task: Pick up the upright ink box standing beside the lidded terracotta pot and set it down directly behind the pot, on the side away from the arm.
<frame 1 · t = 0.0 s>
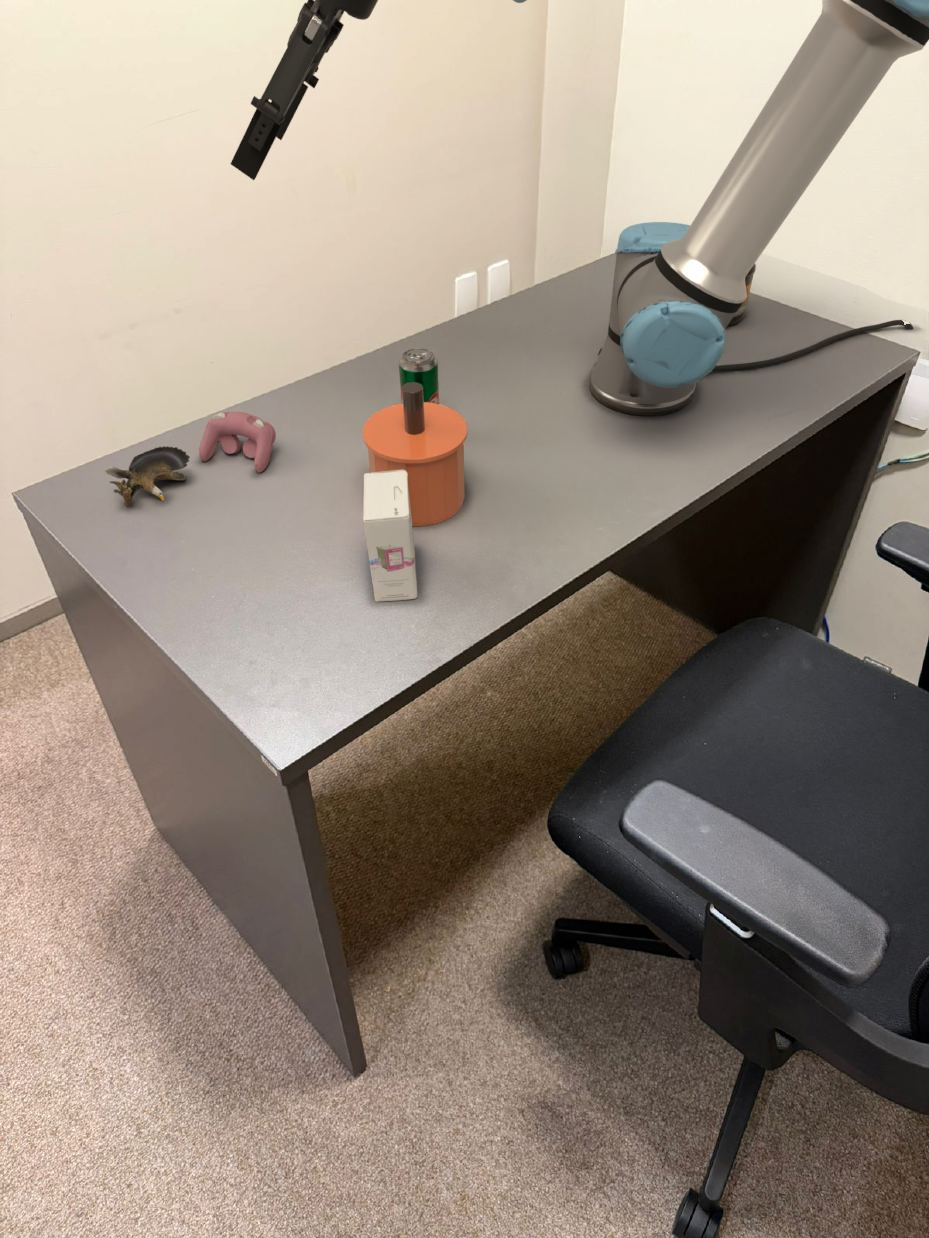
hand: (257, 151, 95), 36 cm above the table, tool tilted 35°, fingers open, 13 cm apart
ink box: (394, 577, 99), on the table
video game controller: (241, 458, 116), on the table
pot lid: (415, 433, 102), point 9 cm above the table, touching pot
soda can: (422, 436, 119), on the table
supplement container: (711, 316, 144), on the table
pot: (419, 498, 109), on the table
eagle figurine: (155, 494, 110), on the table
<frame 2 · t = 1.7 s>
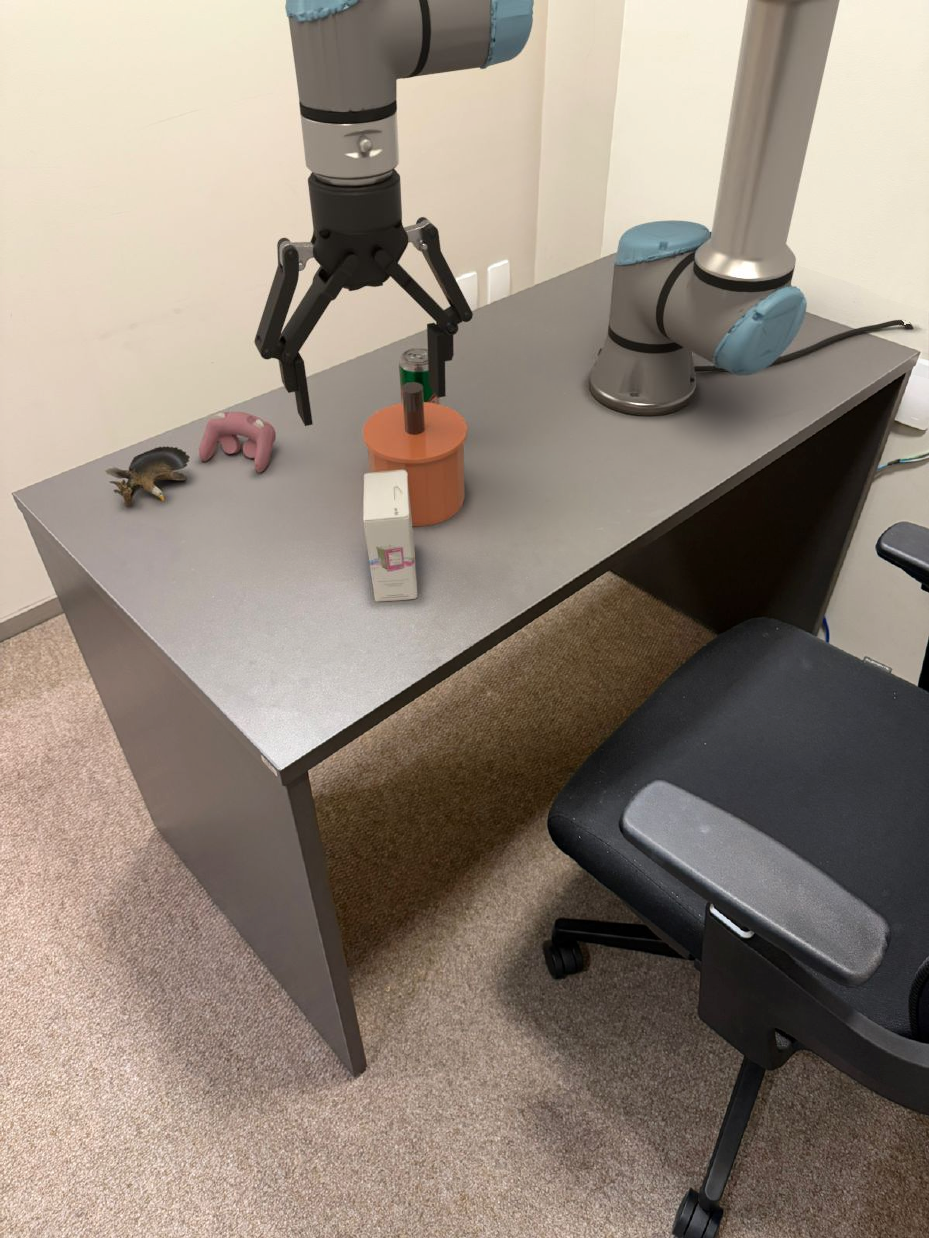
hand: (372, 404, 84), 21 cm above the table, tool pointing down, fingers open, 13 cm apart
nothing on the table moved.
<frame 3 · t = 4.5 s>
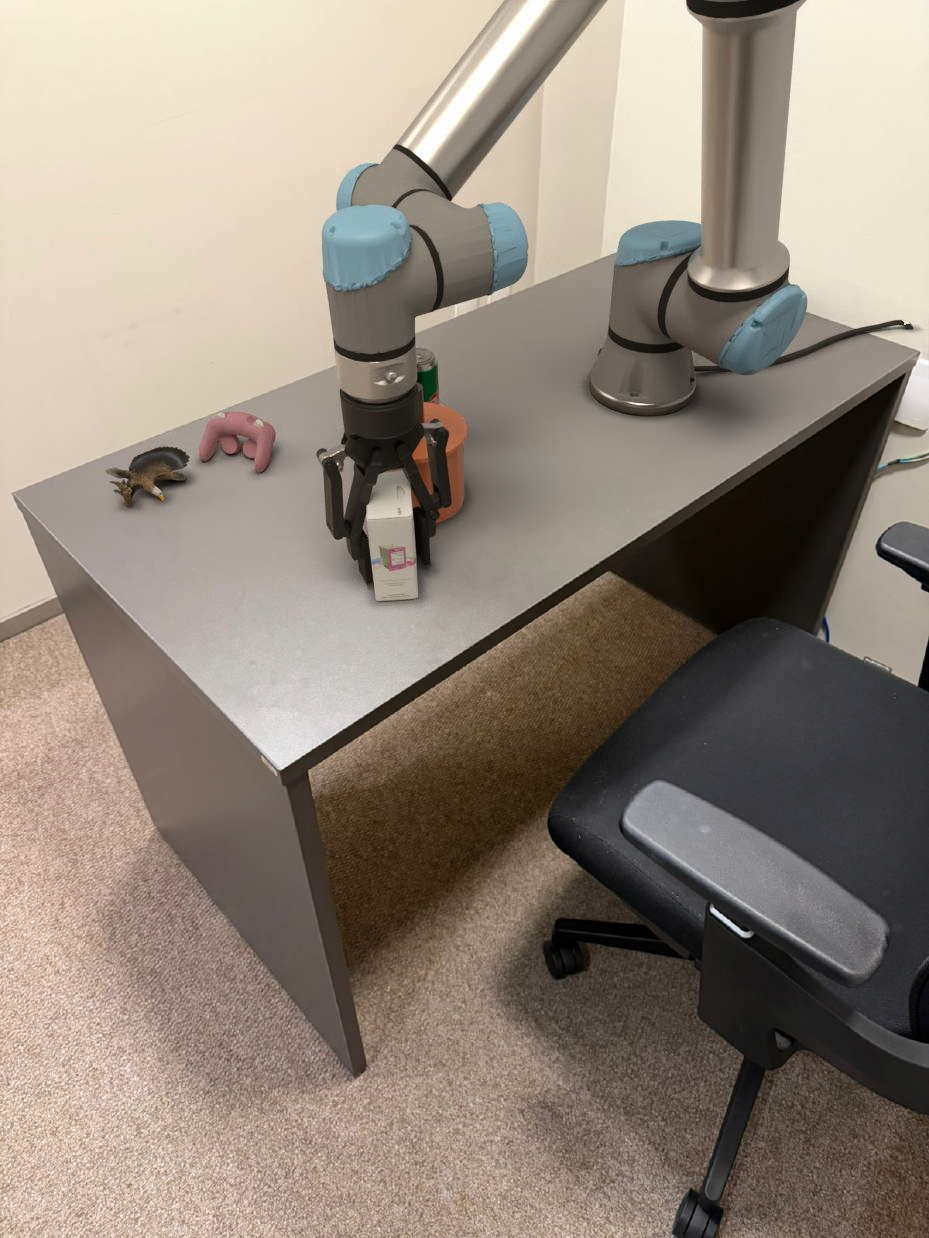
hand: (394, 567, 98), 1 cm above the table, tool pointing down, fingers closed on ink box, 6 cm apart
ink box: (394, 577, 99), on the table, touching gripper
everything else where it was.
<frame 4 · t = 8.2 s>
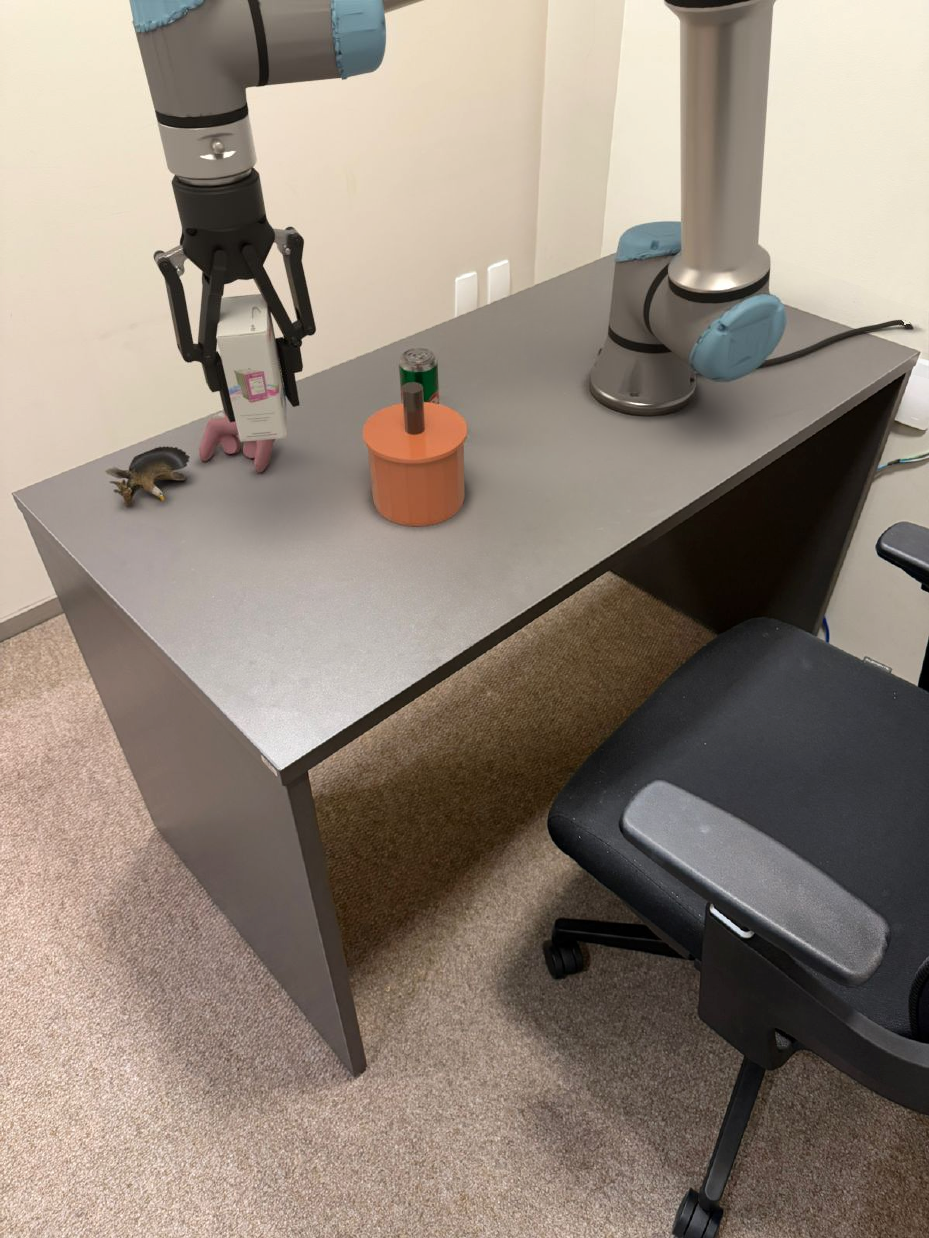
hand: (261, 407, 90), 18 cm above the table, tool pointing down, fingers closed on ink box, 6 cm apart
ink box: (263, 420, 91), point 17 cm above the table, touching gripper
everything else where it was.
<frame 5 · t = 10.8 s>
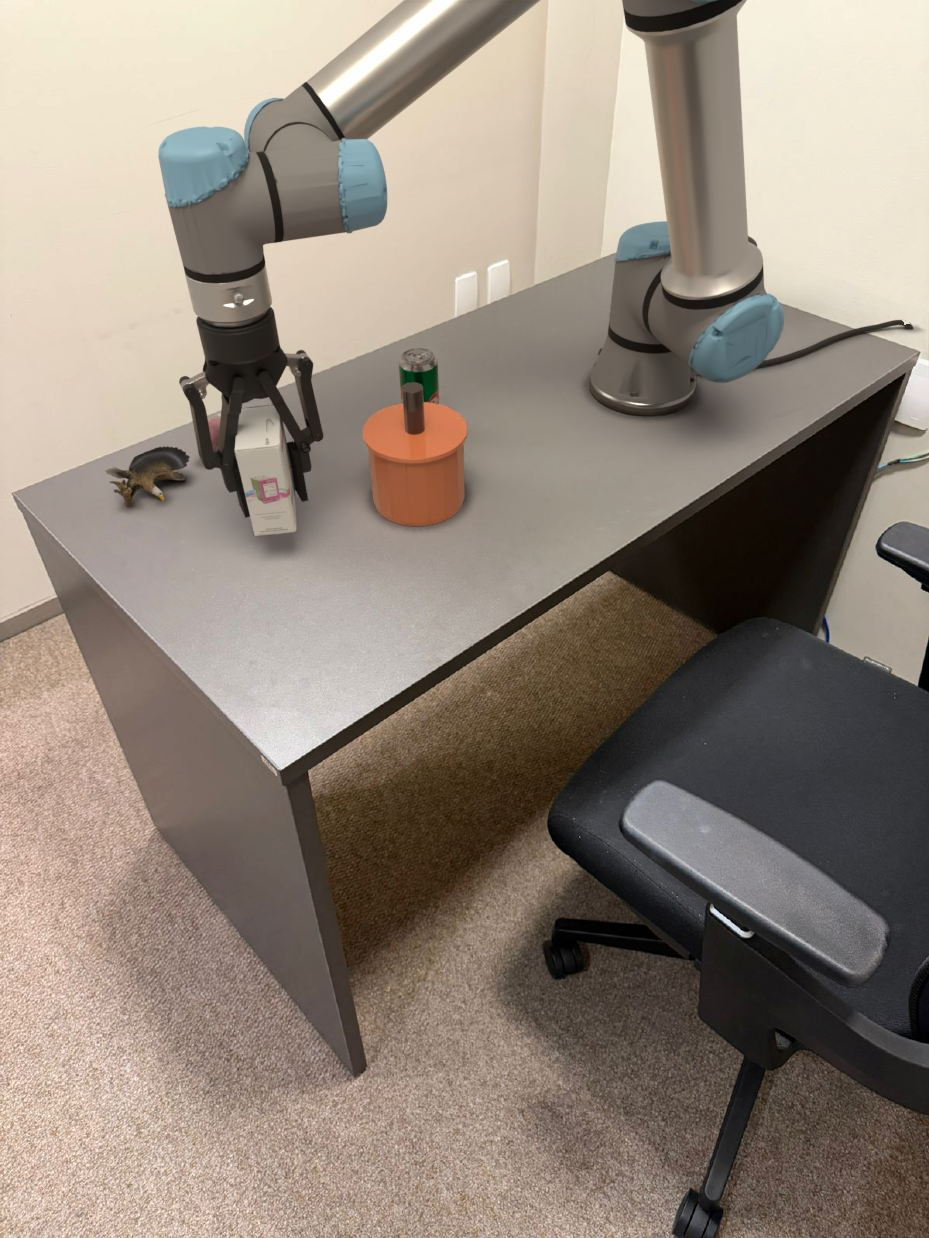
hand: (273, 502, 100), 5 cm above the table, tool pointing down, fingers closed on ink box, 6 cm apart
ink box: (275, 513, 100), point 4 cm above the table, touching gripper
everything else where it was.
when the fingers open (1 cm above the table, at t = 12.2 s): ink box stays where it is, on the table.
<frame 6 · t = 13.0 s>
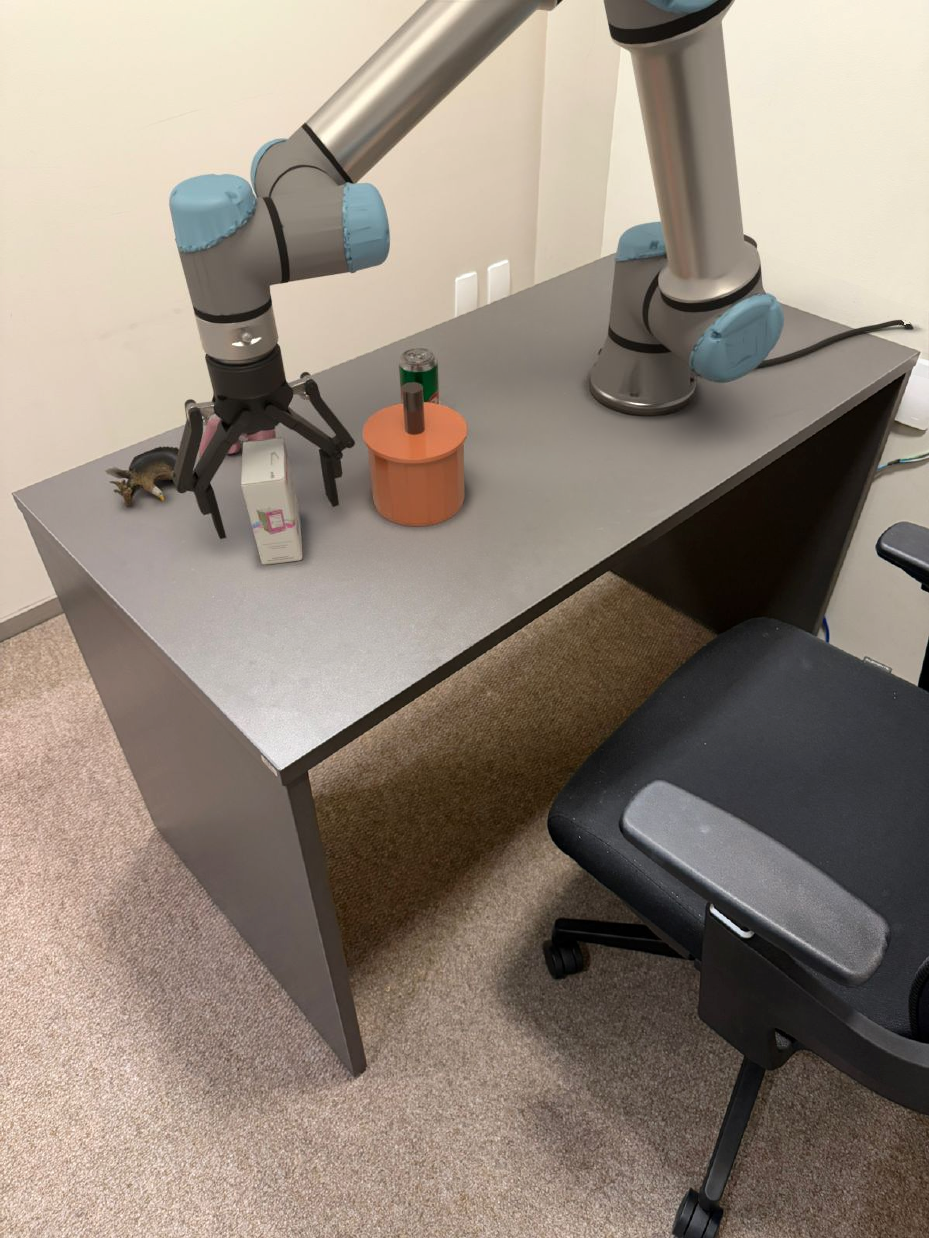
hand: (277, 516, 101), 3 cm above the table, tool pointing down, fingers open, 13 cm apart
ink box: (281, 542, 103), on the table
everything else where it was.
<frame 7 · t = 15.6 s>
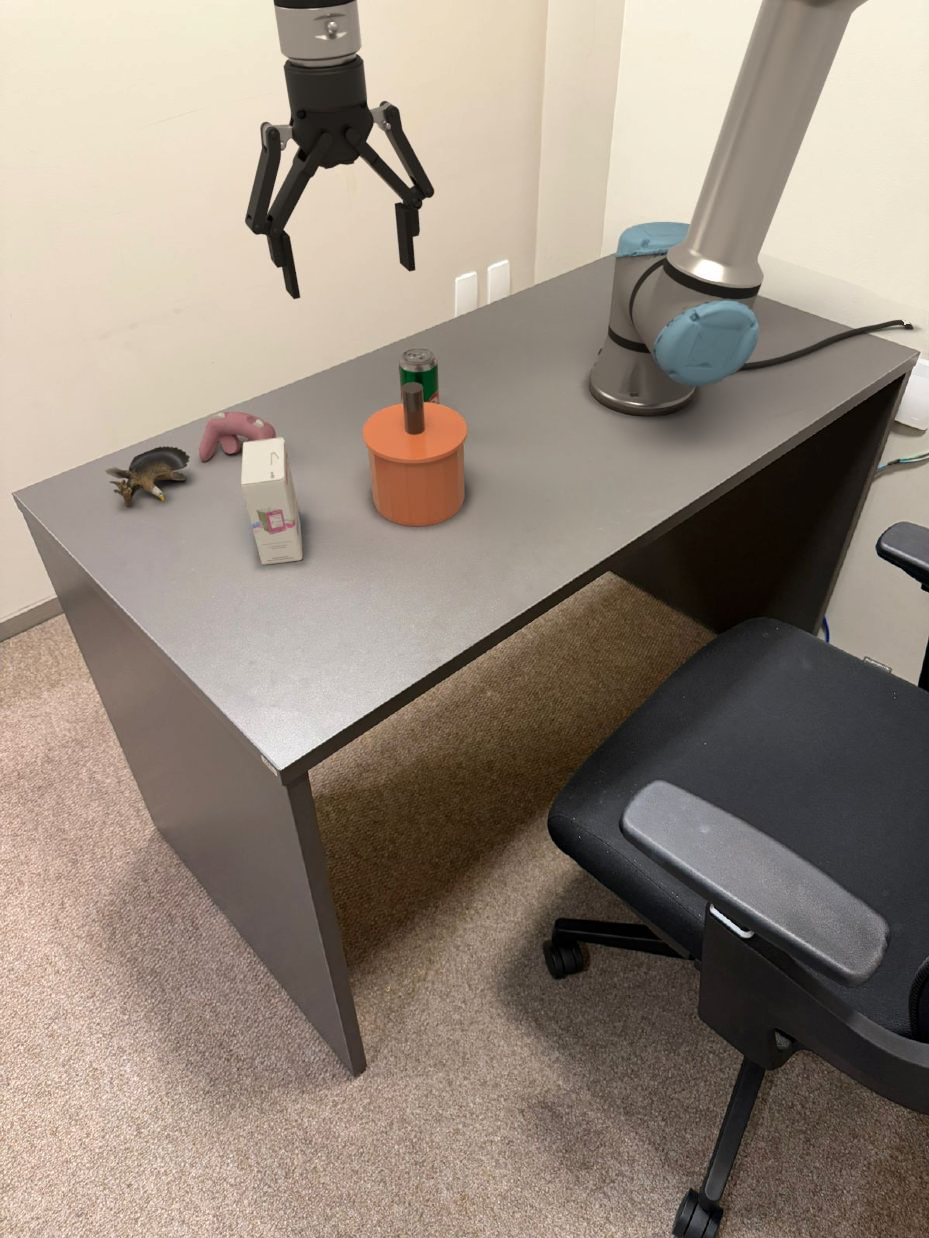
hand: (351, 280, 95), 25 cm above the table, tool pointing down, fingers open, 13 cm apart
nothing on the table moved.
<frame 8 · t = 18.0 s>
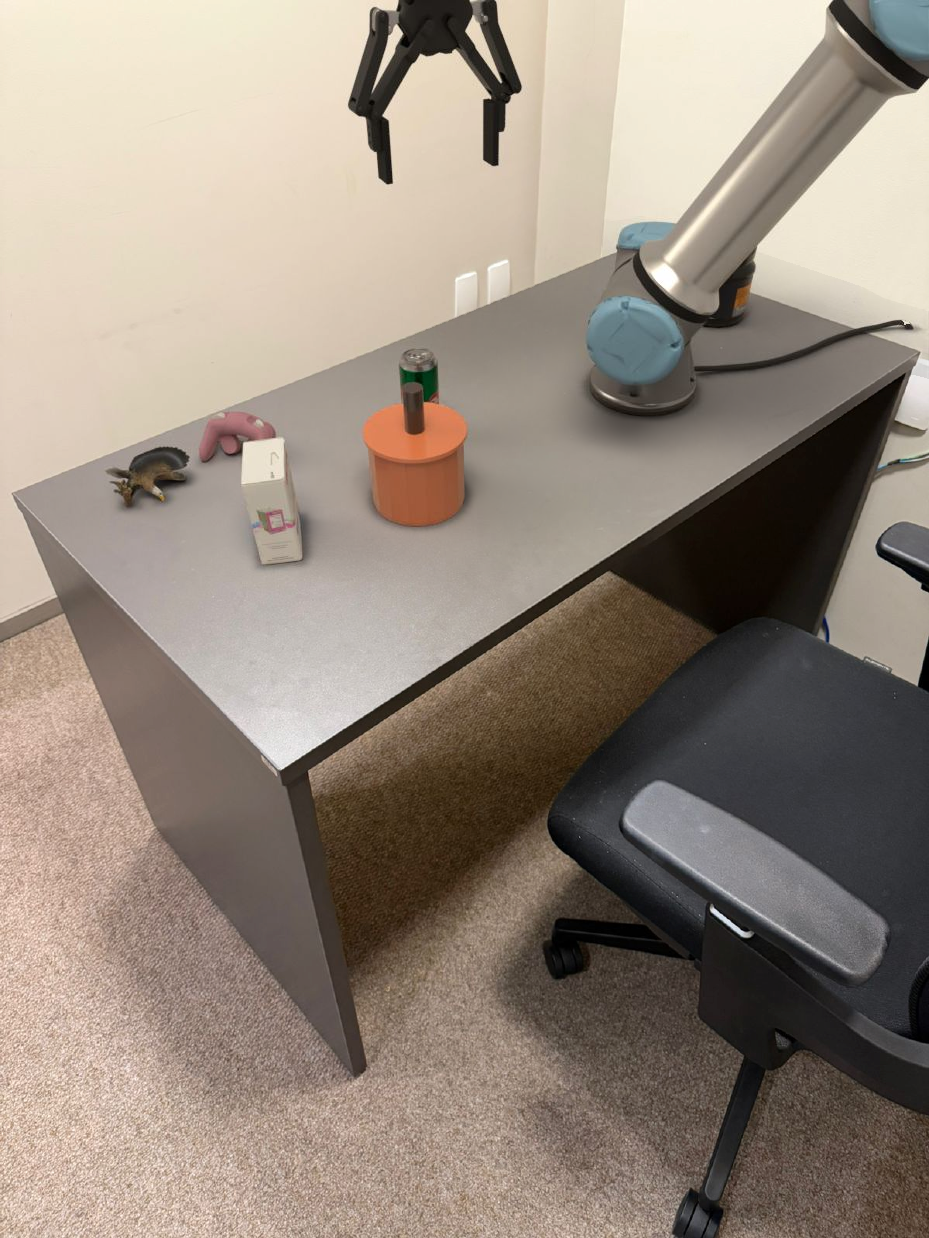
hand: (439, 172, 102), 32 cm above the table, tool pointing down, fingers open, 13 cm apart
nothing on the table moved.
at the end: ink box inside the target area on the table beside the pot (0.4 cm from its centre), on the table; ink box tilted 0°; the gripper is holding nothing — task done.
